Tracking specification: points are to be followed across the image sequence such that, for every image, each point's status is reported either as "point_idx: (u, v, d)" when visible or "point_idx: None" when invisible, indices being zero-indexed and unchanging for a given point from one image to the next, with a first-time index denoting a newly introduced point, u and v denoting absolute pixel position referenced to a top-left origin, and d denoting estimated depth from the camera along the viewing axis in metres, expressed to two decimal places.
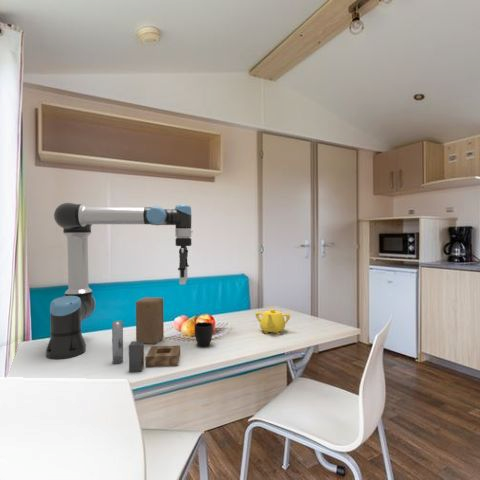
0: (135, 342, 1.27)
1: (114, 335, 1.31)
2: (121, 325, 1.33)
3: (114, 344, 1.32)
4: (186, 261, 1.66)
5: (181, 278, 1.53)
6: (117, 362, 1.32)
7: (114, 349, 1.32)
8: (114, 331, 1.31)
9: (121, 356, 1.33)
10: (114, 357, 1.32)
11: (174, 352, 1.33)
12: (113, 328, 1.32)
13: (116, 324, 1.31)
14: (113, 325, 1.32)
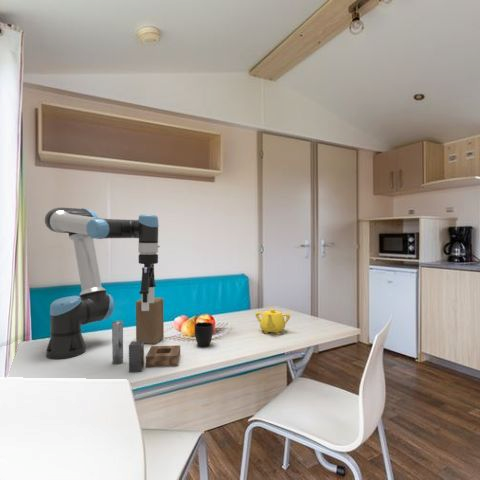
0: (135, 342, 1.27)
1: (114, 335, 1.31)
2: (121, 325, 1.33)
3: (114, 344, 1.32)
4: (152, 281, 1.39)
5: (143, 303, 1.27)
6: (117, 362, 1.32)
7: (114, 349, 1.32)
8: (114, 331, 1.31)
9: (121, 356, 1.33)
10: (114, 357, 1.32)
11: (174, 352, 1.33)
12: (113, 328, 1.32)
13: (116, 324, 1.31)
14: (113, 325, 1.32)
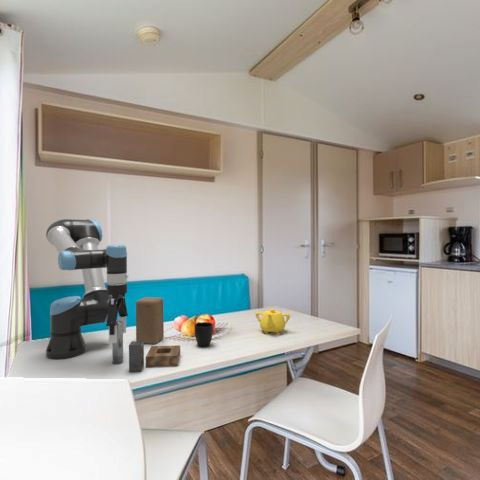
0: (135, 342, 1.27)
1: None
2: (121, 325, 1.33)
3: (114, 344, 1.32)
4: (123, 310, 1.38)
5: (111, 336, 1.26)
6: (117, 362, 1.32)
7: (114, 349, 1.32)
8: None
9: (121, 356, 1.33)
10: (114, 357, 1.32)
11: (174, 352, 1.33)
12: None
13: (116, 324, 1.31)
14: None
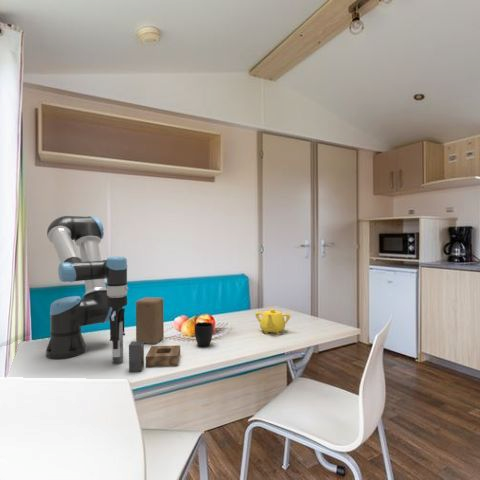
0: (135, 342, 1.27)
1: None
2: (121, 325, 1.33)
3: None
4: None
5: (114, 350, 1.31)
6: (117, 362, 1.32)
7: None
8: None
9: (121, 356, 1.33)
10: (114, 357, 1.32)
11: (174, 352, 1.33)
12: None
13: None
14: None
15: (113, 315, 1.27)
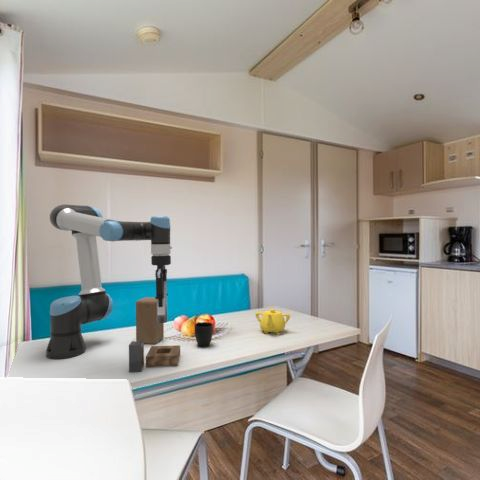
0: (135, 342, 1.27)
1: None
2: (165, 284, 1.33)
3: None
4: None
5: (159, 308, 1.32)
6: (161, 321, 1.32)
7: None
8: None
9: (166, 316, 1.33)
10: (159, 316, 1.32)
11: (174, 352, 1.33)
12: None
13: None
14: None
15: (159, 272, 1.28)
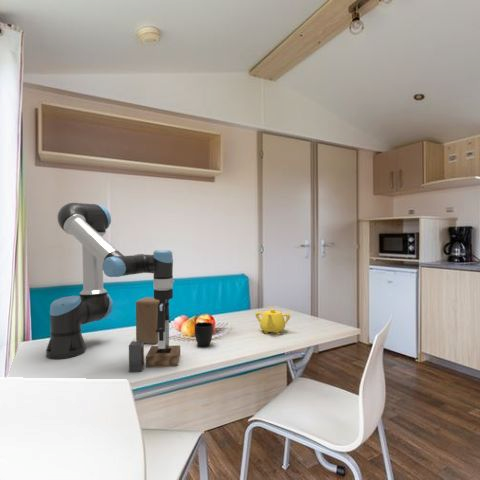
0: (135, 342, 1.27)
1: None
2: (167, 323, 1.34)
3: None
4: (167, 316, 1.39)
5: (160, 341, 1.29)
6: None
7: None
8: None
9: None
10: None
11: (174, 352, 1.33)
12: None
13: None
14: None
15: (161, 305, 1.29)
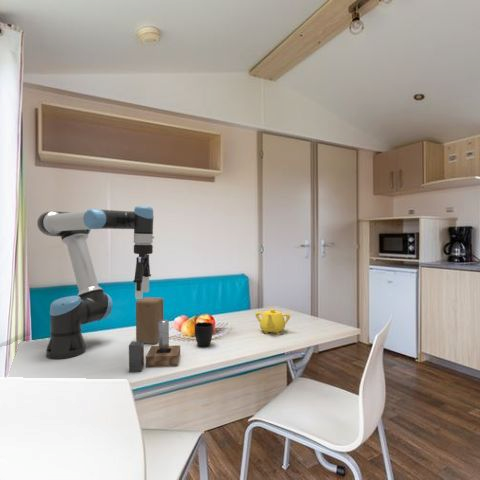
0: (135, 342, 1.27)
1: (161, 334, 1.33)
2: (167, 324, 1.34)
3: (160, 343, 1.33)
4: (147, 270, 1.44)
5: (137, 292, 1.32)
6: None
7: (161, 347, 1.33)
8: (161, 330, 1.33)
9: None
10: None
11: (174, 352, 1.33)
12: (160, 327, 1.33)
13: (163, 323, 1.33)
14: (160, 324, 1.33)
15: (140, 257, 1.33)
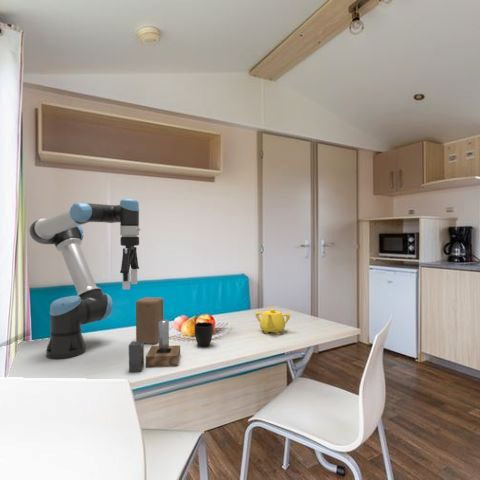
0: (135, 342, 1.27)
1: (161, 334, 1.33)
2: (167, 324, 1.34)
3: (160, 343, 1.33)
4: (135, 263, 1.47)
5: (124, 282, 1.35)
6: None
7: (161, 347, 1.33)
8: (161, 330, 1.33)
9: None
10: None
11: (174, 352, 1.33)
12: (160, 327, 1.33)
13: (163, 323, 1.33)
14: (160, 324, 1.33)
15: None
